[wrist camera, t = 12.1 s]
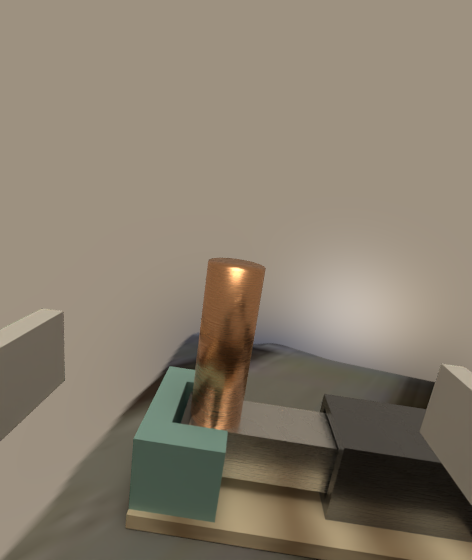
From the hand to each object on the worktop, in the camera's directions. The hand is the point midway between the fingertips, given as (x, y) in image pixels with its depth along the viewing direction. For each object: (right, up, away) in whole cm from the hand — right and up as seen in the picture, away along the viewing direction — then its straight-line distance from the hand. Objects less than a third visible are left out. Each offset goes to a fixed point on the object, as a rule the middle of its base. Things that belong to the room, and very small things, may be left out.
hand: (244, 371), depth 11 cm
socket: (-5, -12, +15) cm, 20 cm away
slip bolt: (+3, -12, +15) cm, 19 cm away
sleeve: (+12, -14, +15) cm, 24 cm away
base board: (+5, -15, +15) cm, 22 cm away
